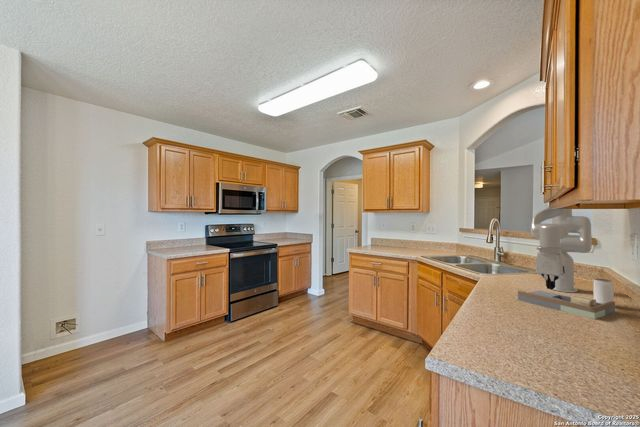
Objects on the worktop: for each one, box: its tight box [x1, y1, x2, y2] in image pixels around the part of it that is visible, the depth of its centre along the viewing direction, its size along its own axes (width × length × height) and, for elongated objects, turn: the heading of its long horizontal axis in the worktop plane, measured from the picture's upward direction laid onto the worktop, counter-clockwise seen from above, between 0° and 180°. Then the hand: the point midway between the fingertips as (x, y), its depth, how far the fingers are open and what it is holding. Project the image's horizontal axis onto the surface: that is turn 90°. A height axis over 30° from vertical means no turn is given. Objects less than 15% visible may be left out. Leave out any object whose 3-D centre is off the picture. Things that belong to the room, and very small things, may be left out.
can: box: [592, 278, 615, 304], centre depth 124 cm, size 6×6×12 cm
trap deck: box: [517, 290, 616, 320], centre depth 124 cm, size 20×28×4 cm
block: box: [570, 295, 596, 307], centre depth 113 cm, size 6×6×4 cm
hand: (550, 288), depth 126 cm, fingers closed
